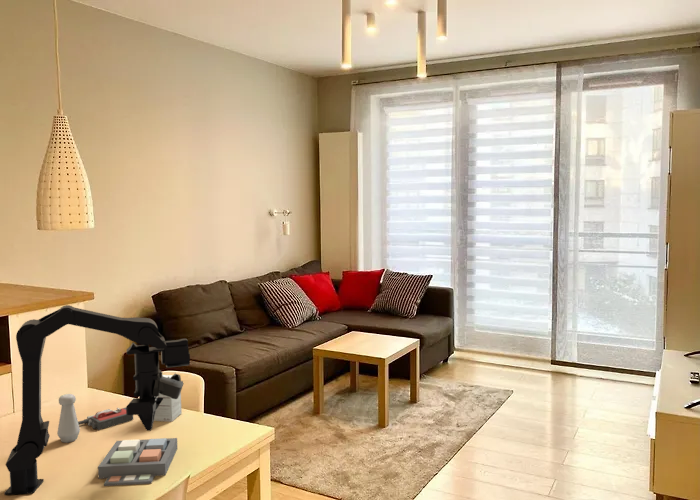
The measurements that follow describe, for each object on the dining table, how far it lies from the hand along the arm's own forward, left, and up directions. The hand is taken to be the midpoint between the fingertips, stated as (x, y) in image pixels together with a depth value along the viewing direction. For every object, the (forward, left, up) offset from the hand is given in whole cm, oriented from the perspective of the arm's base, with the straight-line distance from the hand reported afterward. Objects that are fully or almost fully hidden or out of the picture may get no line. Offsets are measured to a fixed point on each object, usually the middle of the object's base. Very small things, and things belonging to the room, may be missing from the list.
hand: (149, 429), depth 151 cm
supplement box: (+37, +3, -10) cm, 38 cm away
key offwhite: (+7, +7, -8) cm, 13 cm away
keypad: (+2, +4, -10) cm, 11 cm away
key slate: (+7, 0, -8) cm, 11 cm away
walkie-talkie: (+33, +22, -11) cm, 41 cm away
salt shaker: (+22, +27, -10) cm, 36 cm away
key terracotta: (0, 0, -8) cm, 8 cm away
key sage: (0, +7, -8) cm, 11 cm away
